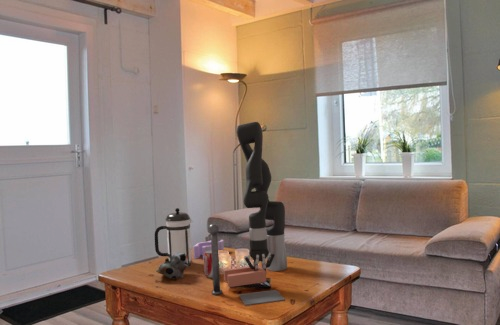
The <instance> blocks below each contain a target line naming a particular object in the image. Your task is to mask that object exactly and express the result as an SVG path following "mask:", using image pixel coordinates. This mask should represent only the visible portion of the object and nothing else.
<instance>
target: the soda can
mask: <svg viewBox="0 0 500 325" xmlns="http://www.w3.org/2000/svg"><path fill="white" fill-rule="evenodd" d="M203 269H204V270H203V271H204V276H205V277H206V278H208V279H209V278H210V279H211V278H212V279H213V271H212V251H211V250H207V251H205V254H204V260H203Z"/></svg>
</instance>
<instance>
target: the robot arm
mask: <svg viewBox="0 0 500 325" xmlns="http://www.w3.org/2000/svg"><path fill="white" fill-rule="evenodd" d="M235 129H236V130H235V131H236V136H237V139H238V143H239V145H240V147H241V150H242V152H243V154H244V157H245V159H246V166H245V179H246V184H245V191H244V196H243V205H244V207H246V208H247V209H257V208H259V210H258V211H256V212H253V213H250V214H249V216H248V225H249V226H248V227H249V232H248V234H249V235H248V237H249V252H248V254H247V255H245V256H244V257H243V259H244V260H245V262H246V264H247V266H249V267H250V268H251V269H254V271H258V265H259V262H261V267H262V268H263V269H264V270H265V271H266V272H267V270H268V271H271V272H280V271H284V270H287V269H288V260H287V259H288V258H287V257H288V256H287V249H286V244H285V243H286V242H285V228H286V208H285V205H284V203H283V202H282V201H278V200H277V201H271V200H270V199H269V198H270V196H269V195H268V191H269V188H270V185H271V182H272V174H271V171H270V167H269V164H268V162H266V161H265V160H264V159H263V158H262V156H263V142H264V141H263V137H264V136H263V129H262V126H261V124H260V123H259V121H253V122H252V121H251V122H248V123H243V124H239V125H238V126H237V127H236V128H235ZM250 144H253V145H254V147H253V148H252V147H251V145H250ZM254 189H255V191H254ZM267 221H273V225H271V226H267V223H266V222H267ZM266 226H267V227H266ZM251 259H252V260H253V264H252V263H251Z"/></svg>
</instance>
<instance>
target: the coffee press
mask: <svg viewBox="0 0 500 325" xmlns="http://www.w3.org/2000/svg"><path fill="white" fill-rule="evenodd" d="M174 210H175V212H171V213H169V214H168V215H166V217H165V221H166V225H161V226H158V227H157V228H155V231H154V248H155V249H154V250H155V252H156V253H155V254H157V256H160V257H167V258H168V259H169V261H170V259H171V257H172V256H173V255H174V254H177V253H183V254H185V255H186V254H188V255H187V257H188V267H190V266H191V262H192V247H191V223H194V221H193V220H192V218H191V217H190V215H189V214H188V213H187V212H181V211H180V208H178V207H177V208H175V209H174ZM161 230H166V239H167V252H161V251H160V249H159V248H160V247H159V246H160V245H159V232H160V231H161Z"/></svg>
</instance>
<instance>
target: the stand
mask: <svg viewBox="0 0 500 325" xmlns="http://www.w3.org/2000/svg"><path fill="white" fill-rule="evenodd" d="M219 231H220V227H219V226H218V225H217V223H216V224H215V223H212V224H210V225H209V226H208V232H209V234H210V240H211V251H212V271H213V278H212V284H213V285H212V287H213V290H211V296H220V295H222V294H223V290H222V289H221V281H220V280H221V278H220V257H219V254H218V242H219V238H218V233H219Z"/></svg>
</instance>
